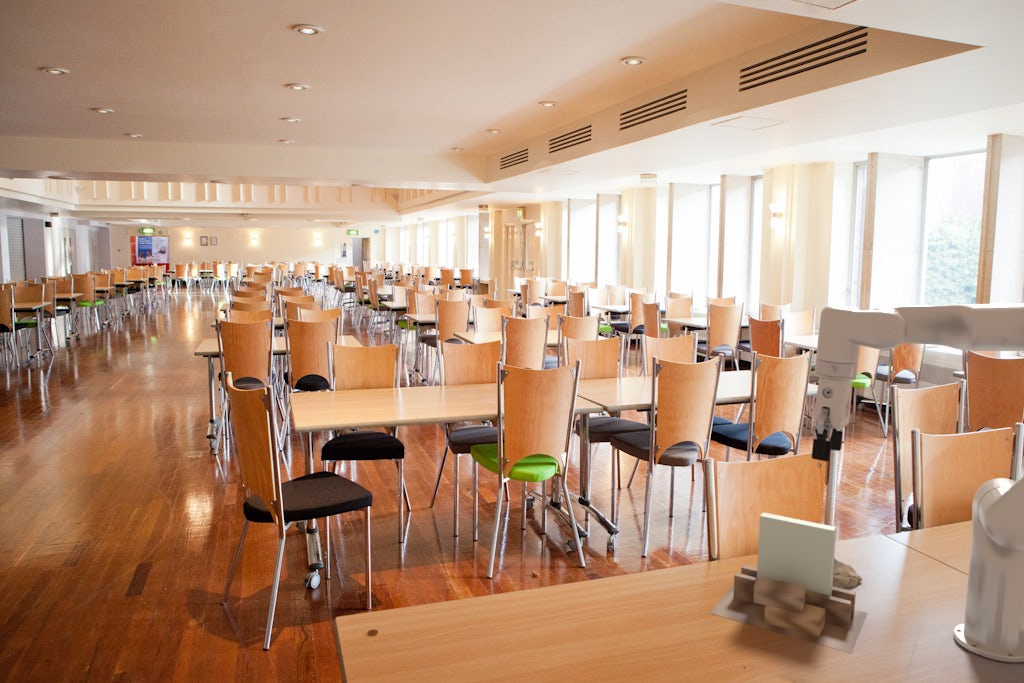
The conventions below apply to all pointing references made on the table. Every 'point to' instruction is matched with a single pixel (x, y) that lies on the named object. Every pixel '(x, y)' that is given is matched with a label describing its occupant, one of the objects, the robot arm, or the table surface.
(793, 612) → the offcut lower
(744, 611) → the rack
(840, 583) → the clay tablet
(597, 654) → the table surface
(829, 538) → the panel
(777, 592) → the offcut upper
